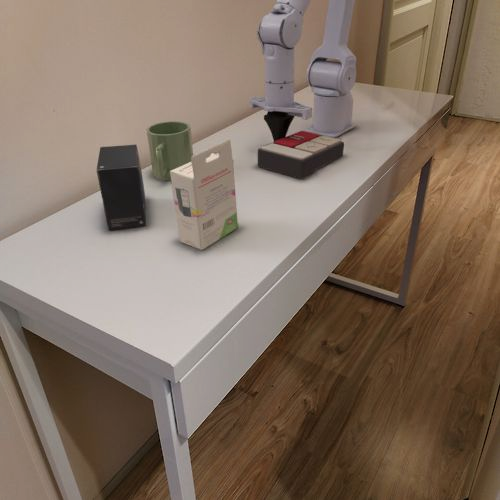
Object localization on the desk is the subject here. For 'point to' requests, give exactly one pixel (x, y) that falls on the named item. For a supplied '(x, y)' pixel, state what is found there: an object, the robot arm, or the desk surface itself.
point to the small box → (121, 186)
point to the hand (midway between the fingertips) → (279, 146)
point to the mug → (169, 147)
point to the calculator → (300, 153)
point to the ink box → (205, 196)
